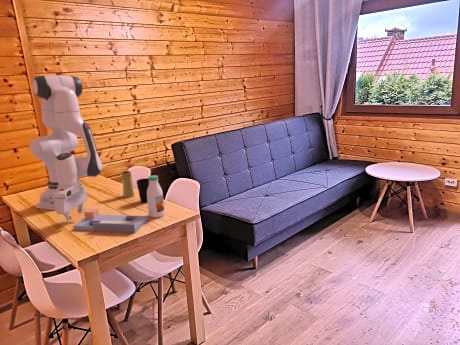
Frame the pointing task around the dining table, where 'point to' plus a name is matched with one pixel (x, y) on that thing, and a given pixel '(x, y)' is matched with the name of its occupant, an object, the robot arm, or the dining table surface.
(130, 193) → the vase
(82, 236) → the dining table surface
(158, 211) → the milk bottle
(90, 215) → the block
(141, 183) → the cup
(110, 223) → the board
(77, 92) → the robot arm
